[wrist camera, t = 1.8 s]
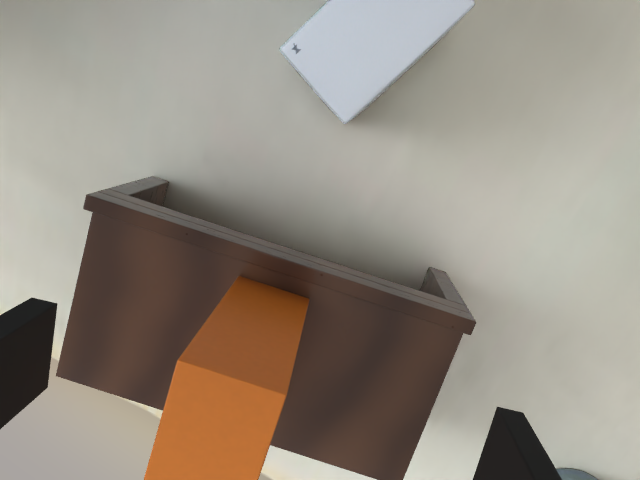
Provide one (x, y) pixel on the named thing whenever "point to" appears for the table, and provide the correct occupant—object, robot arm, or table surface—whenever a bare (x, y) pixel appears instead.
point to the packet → (230, 387)
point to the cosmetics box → (366, 46)
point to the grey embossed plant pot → (574, 474)
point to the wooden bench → (315, 342)
